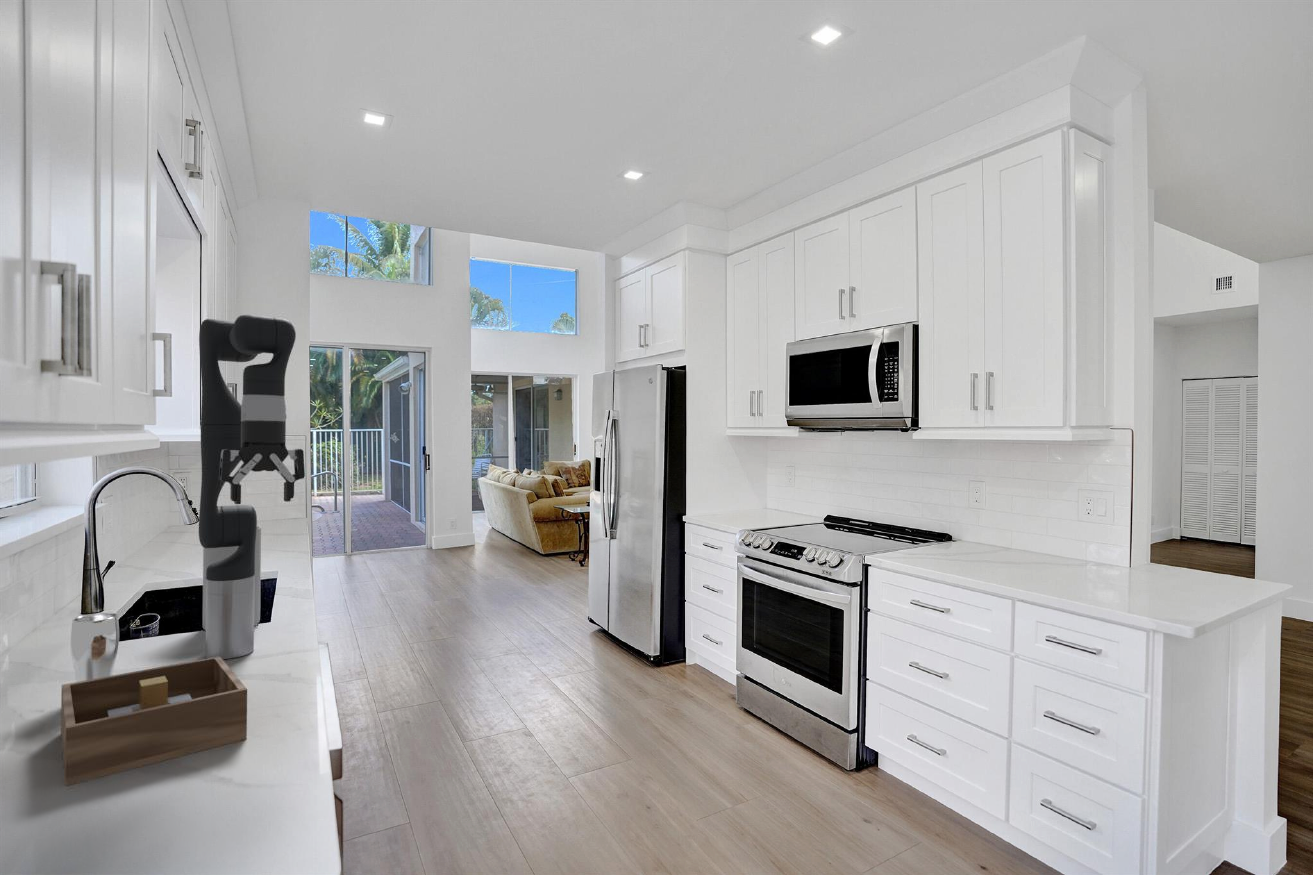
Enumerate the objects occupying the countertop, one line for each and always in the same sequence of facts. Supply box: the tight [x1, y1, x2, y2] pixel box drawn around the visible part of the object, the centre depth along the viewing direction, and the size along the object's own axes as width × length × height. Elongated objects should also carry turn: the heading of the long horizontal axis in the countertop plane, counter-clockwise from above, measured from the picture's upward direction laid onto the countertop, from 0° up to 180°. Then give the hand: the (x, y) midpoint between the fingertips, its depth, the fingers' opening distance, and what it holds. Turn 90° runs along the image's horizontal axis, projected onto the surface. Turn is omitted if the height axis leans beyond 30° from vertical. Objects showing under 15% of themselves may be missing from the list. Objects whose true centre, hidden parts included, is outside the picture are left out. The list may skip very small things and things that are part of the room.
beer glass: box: [69, 612, 120, 682], centre depth 125 cm, size 7×7×15 cm
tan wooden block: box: [139, 676, 168, 710], centre depth 109 cm, size 3×3×8 cm
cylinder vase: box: [202, 525, 262, 631], centre depth 172 cm, size 12×12×25 cm
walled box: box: [60, 656, 248, 786], centre depth 109 cm, size 22×22×8 cm
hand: (262, 502), depth 130 cm, fingers open, 8 cm apart
